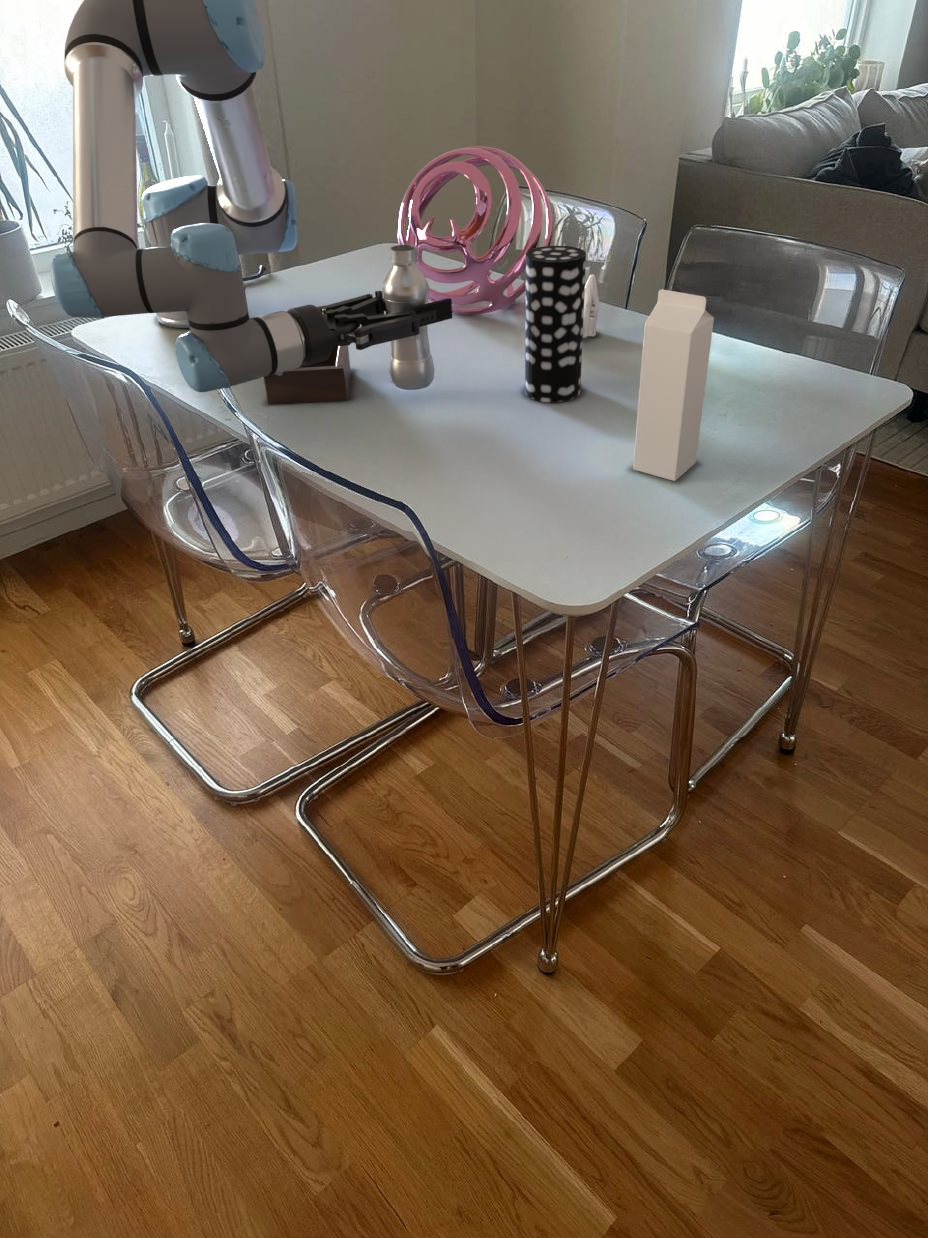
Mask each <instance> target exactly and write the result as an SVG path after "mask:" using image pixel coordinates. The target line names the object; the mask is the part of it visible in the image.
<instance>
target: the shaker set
mask: <svg viewBox="0 0 928 1238" xmlns="http://www.w3.org/2000/svg"><path fill="white" fill-rule="evenodd" d="M599 307H600V298H599V291H598V285H597V279H596V275H595V274H592V273H591V274H590V275H589V277H588V279H587V280H586V282H585V292H584V316H583V339H585V338H587V337H592V338H593V337H595V336H597V334H596V331H597V324H598V323H597V322H598V315H599Z"/></svg>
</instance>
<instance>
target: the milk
mask: <svg viewBox="0 0 928 1238" xmlns="http://www.w3.org/2000/svg"><path fill="white" fill-rule="evenodd" d="M657 293H658V294H657V301H656V302H657V303H656V304H655V306H654V307H653V309H652V311H651V313H650V314H649V316H648V318H647V319H646V320H645V323H644V329H643V330H644V331H643V343H642V353H641V354H642V355H641V357H642V358H641V366H640V367H641V368H640V379H639V392H638V403H637V414H636V415H637V416H636V417H637V418H636V430H635V440H634V441H635V442H634V443H635V444H634V451H633V452H634V454H633V464H632V469H633V470H634V471H637V472H640V473H644V474H648V475H651V476H655V477H658V478H663V479H665V480H669V481H673V482H676V481H678V479H680V478H681V477H682V476H683V475H685V473H686V472H687V471H688V470H690V469H691V468H692V467H693V466H694V465H695V464H696V463H697V458H698V457H697V456H698V449H699V448H698V447H699V439H700V431H701V424H702V418H703V417H702V416H703V408H704V401H705V392H706V384H707V377H708V368H709V362H710V361H709V360H710V354H711V346H712V345H711V344H712V338H713V331H714V329H713V328H714V321H715V317H714V316H713V315H712V314H710V313H709V312H708V311H707V310H706V307H707V297H706V296H702V295H698V294H692V293H687V292H678V291H675V290H668V289H663V288H661V289H659V290H658V292H657Z"/></svg>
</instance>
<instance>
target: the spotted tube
mask: <svg viewBox="0 0 928 1238" xmlns="http://www.w3.org/2000/svg"><path fill="white" fill-rule="evenodd" d="M543 246H544V245H543ZM543 246H539V247H536V248H534V249H531V250H529V251H528V252H526V268H525V280H526V291H525V293H524V294H525V297H524V299H525V301H524V302H525V303H524V304H525V305H524V306H525V309H524V311H525V316H524V317H525V319H524V321H525V322H524V325H525V329H524V332H525V333H524V335H525V336H524V339H525V340H524V341H525V342H524V343H525V344H524V393H525V395H526V396H527V397H528V398H530V399H532V400H534V401H537V402H542V403H562V402H567V401H571V400H573V399H575V398H577V397H579V396H580V394H581V389H582V387H581V386H582V384H581V383H582V365H583V364H582V361H583V339H584V338H583V331H584V330H583V316H584V292H585V285H586V266H587V265H586V264H587V252H586V251H585V250H584V249H582V248H579V247H575V246H571V245H551V246H544V247H543Z"/></svg>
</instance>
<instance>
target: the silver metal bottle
mask: <svg viewBox="0 0 928 1238" xmlns="http://www.w3.org/2000/svg"><path fill="white" fill-rule="evenodd" d="M417 262H418V257H417V247H416V246H414V245H398V244H396V245H393V246H390V248H389V264H391V267H390V269H389V270H388V272H387V274H386V275H385V278H384V279H383V282H382V290H381V291H382V294H383V298H384V300H385V304H386V309H387V313H388V314H390V313H398V312H405V311H410V308H411V307H415V306H419V305H423V304H427V303H429V299H428V296H429V295H428V294H429V288H430V286H429V282H428V279H427V278H426V277H425V276H424V275H423V273H422V272H421V271H420V269H419V268H418V267H417V265H416V263H417ZM388 370H389V372H388V373H389V376H390V379H391V382H392V383H393V384H394V386H395V387H396V388H398V389H401V390H406V391H416V390H417V391H418V390H423V389H426V388H428V387H429V386H430V385H431V384H432V382H433V381H434V377H435V365H434V359H433V356H432V354H431V348H430V341H429V334H428V325H425V326H421V327H419V335H416V336H411V337H406V338H402V339H398V340H394V341H390V357H389V369H388Z"/></svg>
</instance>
